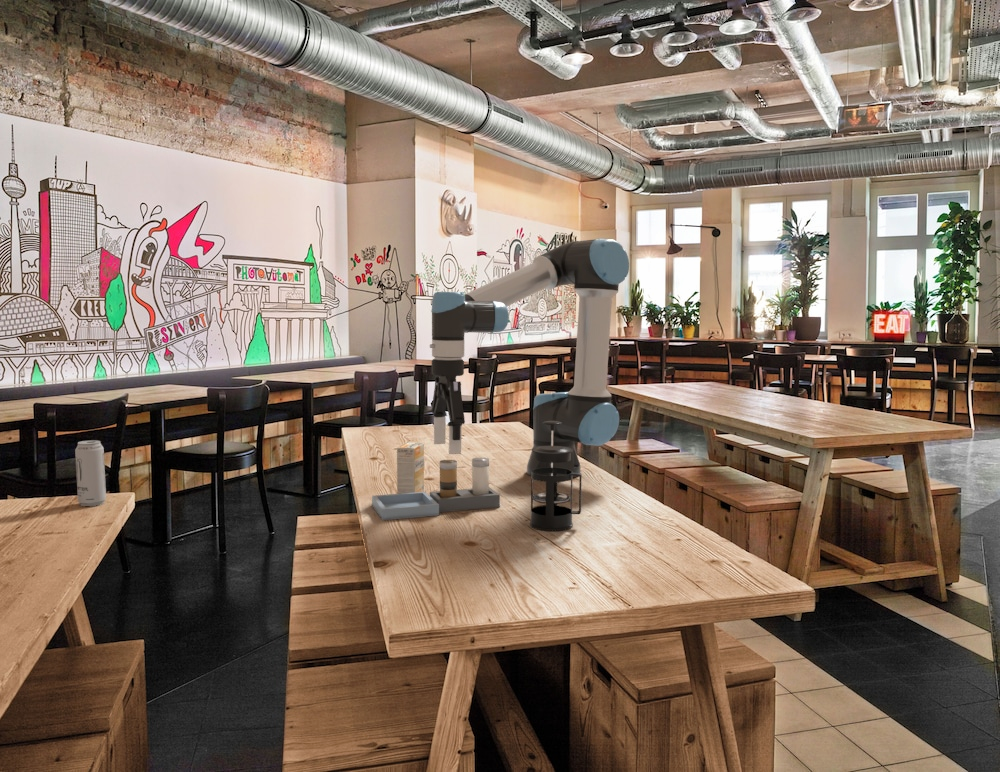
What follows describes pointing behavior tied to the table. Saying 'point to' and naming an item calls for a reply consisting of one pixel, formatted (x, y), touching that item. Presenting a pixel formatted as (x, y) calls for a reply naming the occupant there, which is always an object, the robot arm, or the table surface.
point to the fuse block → (466, 500)
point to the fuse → (480, 476)
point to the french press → (552, 488)
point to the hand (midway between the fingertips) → (447, 448)
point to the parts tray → (405, 505)
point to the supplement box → (410, 468)
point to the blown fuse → (448, 478)
